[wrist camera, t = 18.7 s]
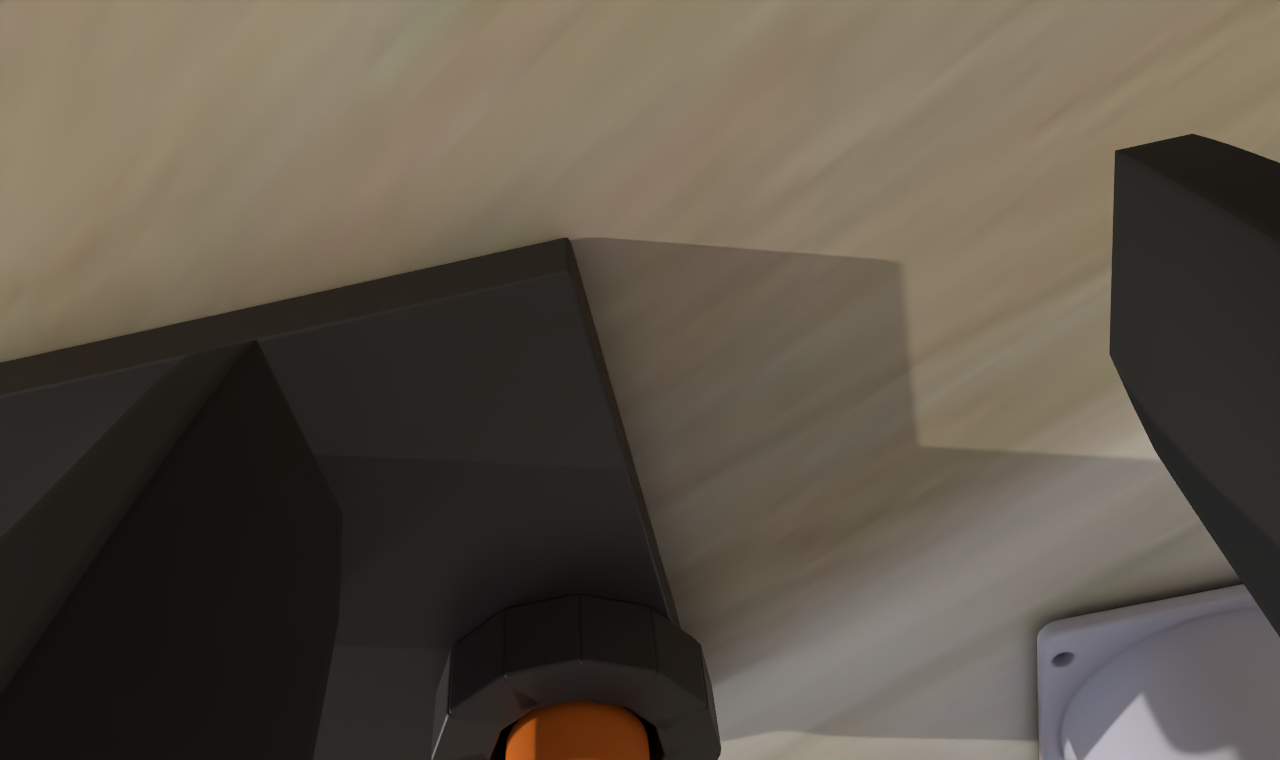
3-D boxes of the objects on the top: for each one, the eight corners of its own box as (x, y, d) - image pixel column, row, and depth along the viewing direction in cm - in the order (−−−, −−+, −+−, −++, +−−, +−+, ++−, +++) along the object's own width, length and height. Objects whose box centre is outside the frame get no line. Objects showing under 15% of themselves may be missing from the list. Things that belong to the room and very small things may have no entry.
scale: (721, 702, 29) (738, 812, 27) (231, 797, 30) (205, 911, 28) (594, 229, 21) (601, 324, 19) (-68, 376, 22) (-141, 484, 20)
